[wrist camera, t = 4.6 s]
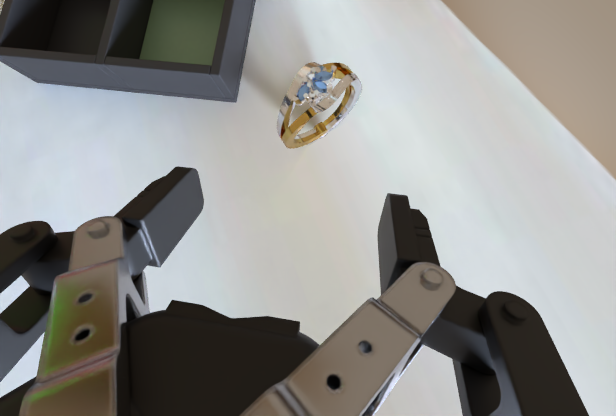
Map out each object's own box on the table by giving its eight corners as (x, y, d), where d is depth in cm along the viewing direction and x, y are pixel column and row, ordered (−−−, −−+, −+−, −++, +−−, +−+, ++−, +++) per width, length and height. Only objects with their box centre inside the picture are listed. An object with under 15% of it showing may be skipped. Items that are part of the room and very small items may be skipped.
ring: (296, 169, 25) (281, 130, 17) (277, 139, 25) (254, 88, 17) (365, 126, 25) (382, 67, 17) (344, 97, 25) (352, 27, 17)
